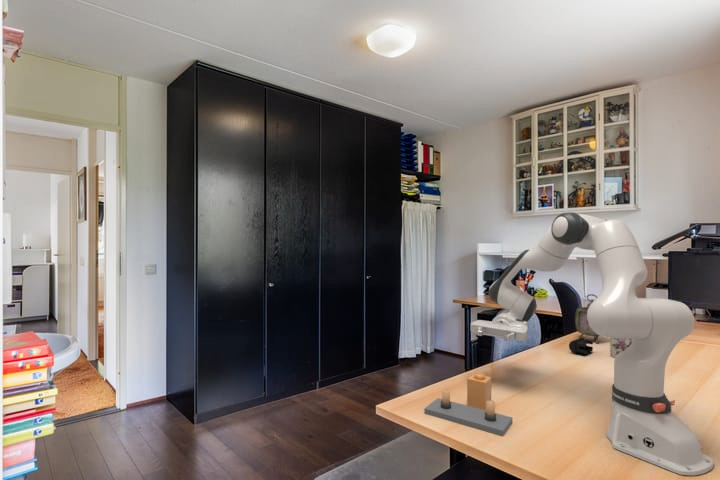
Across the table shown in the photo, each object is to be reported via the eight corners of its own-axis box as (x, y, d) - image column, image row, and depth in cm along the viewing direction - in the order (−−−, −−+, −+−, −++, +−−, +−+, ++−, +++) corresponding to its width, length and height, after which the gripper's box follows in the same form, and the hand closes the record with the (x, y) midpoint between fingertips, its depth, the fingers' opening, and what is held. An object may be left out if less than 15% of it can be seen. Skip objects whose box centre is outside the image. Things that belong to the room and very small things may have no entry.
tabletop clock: (574, 338, 217) (575, 292, 217) (587, 336, 220) (588, 292, 220) (597, 344, 203) (598, 296, 203) (611, 343, 206) (611, 296, 206)
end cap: (577, 349, 195) (577, 336, 194) (593, 353, 189) (593, 339, 189) (568, 353, 188) (568, 339, 188) (584, 357, 183) (584, 342, 183)
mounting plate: (512, 422, 117) (512, 400, 117) (502, 436, 109) (503, 412, 109) (437, 402, 131) (437, 382, 131) (424, 413, 123) (424, 392, 123)
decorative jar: (652, 361, 177) (652, 321, 177) (635, 364, 173) (635, 323, 173) (625, 353, 188) (626, 316, 188) (609, 356, 184) (609, 318, 184)
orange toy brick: (491, 404, 130) (491, 373, 130) (485, 410, 125) (485, 379, 125) (473, 400, 133) (473, 370, 133) (467, 406, 128) (467, 375, 128)
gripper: (477, 314, 157) (464, 322, 146) (531, 322, 145) (522, 332, 134) (476, 329, 157) (464, 339, 146) (531, 339, 145) (522, 350, 134)
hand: (492, 335), depth 140 cm, fingers open, 8 cm apart
